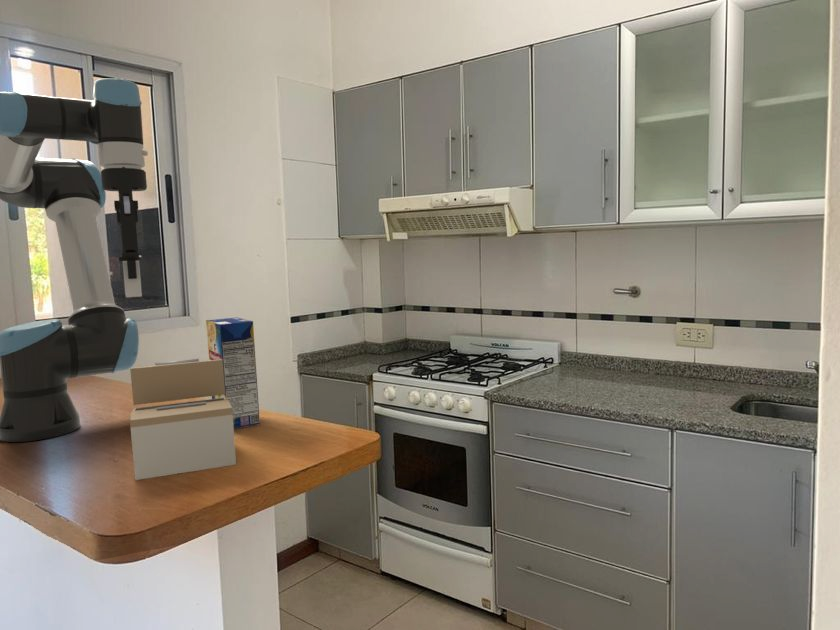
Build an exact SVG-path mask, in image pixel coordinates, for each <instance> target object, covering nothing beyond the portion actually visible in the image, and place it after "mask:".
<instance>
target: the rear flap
mask: <svg viewBox="0 0 840 630" xmlns="http://www.w3.org/2000/svg"><path fill="white" fill-rule="evenodd" d="M129 370H130V380H131V392H132V402H133V406H137V405H138V406H139V405H145V404H153V403H163V402H171V401H180V400H188V399H189V400H190V399H197V398H205V397H208V398H209V397H212V396H216V395H225V385H224V371H223V360H222V359H219V360H209V359H207V360H200V359H199V358H192V359H182V360H172V361H160V362H155V363H154V365H150V366H149V365H148V366H139V367H131V368H130V369H129Z"/></svg>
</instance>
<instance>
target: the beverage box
mask: <svg viewBox="0 0 840 630" xmlns="http://www.w3.org/2000/svg"><path fill="white" fill-rule="evenodd" d="M205 322H206V323H205V325H206V326H205V327H206V337H207V339H206V340H207V350H208V351H207V353H208V360H219V359H222V360H223V371H224V385H225V395H216V396H211V399H218V398H225V399H226V400H229V402H230V405H231V407H232V415H233V428H234V430H236V429H242V427H243V428H248V427H253V426H252V425H254V426H258V425H257V424H259V425H261V422H260V421H261V420H260V408H259V405H260V404H259V392H258V390H259V389H258V380H257V379H258V376H257V374H258V373H257V363H256V359H257V358H256V348H255V347H256V346H255V334H254V332H255V331H254V321H253V320H249V319H245V318H242V317H237V316H236V317H229V318H219V319H218V318H217V319H215V318H214V319H207V320H205ZM247 426H248V427H247Z"/></svg>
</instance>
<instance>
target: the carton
mask: <svg viewBox="0 0 840 630" xmlns="http://www.w3.org/2000/svg"><path fill="white" fill-rule="evenodd" d="M129 425H130V435H131V436H130V437H131V449H132V458H133V470H134V472H133V473H134V480H135V481H139V480H145V479H153V478H159V477H165V476H166V477H167V476H171V475H177V474H178V473H179V474H184V473H190V472H196V471H203V470H209V469H210V470H211V469H216V468H224V467H230V466H235V465H236V466H237V459H236V458H237V457H236V447H235V446H236V444H235V431H234V430H235V429H234V428H233V415H232V407H231V405H230V402H229V400H226V399H225V398H218V399H212V398H210V399H203V400H202V399H201V400H193V401H186V402H177V403H169V404H168V403H167V404H160V405H152V406H144V407H136V408H133V410H131V413H130V417H129ZM179 474H178V475H179Z"/></svg>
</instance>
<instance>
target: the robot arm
mask: <svg viewBox="0 0 840 630" xmlns="http://www.w3.org/2000/svg"><path fill="white" fill-rule="evenodd" d="M92 97H93V100H90V99H80V98H79V99H78V98H69V97H60V96H58V97H57V96H48V95H39V94H29V93H22V92H18V91H11V92H9V91H8V92H7V91H0V201H2V202H4V203H6V204H9V205H12V206H15V207H18V208H26V209H44V210H45V215H46V217H47V219H49V220H51V221H52V222H54V223H55V227H56V231H57V232H56V233H57V237H58V240H59V241H58V242H59V245H60V246H59V247H60V251H61V256H62V261H63V265H64V266H63V267H64V271H65V274H66V280H67V285H68V290H69V294H70V299H71V305H72V310H73V312H72V313H71V314H70V316H68V318H67V323H68V324H63V323H62V322H61V320H60V319H58V318H52V319H51V318H50V319H45V320H37V321H31V322H27V323H23V324H18V325H15V326H11V327H8V328H6V329H3V330H2V331H1V332H0V373H1V383H2V384H1V385H2V393H3V404H2V408H1V412H0V441H1V442H8V443H11V442H12V443H19V442H21V443H22V442H24V443H25V442H33V441H38V440H39V441H40V440H46V439H51V438H55V437H59V436H62V435H66V434H69V433H72V432H74V431H76V430H78V429H79V428H80V427H81V420H80V414H79V412H78V410H77V408H76V406H75V405H74V402H73V400H72V398H71V395H70V394H69V391H68V381H67V380H68V379H75V378H83V377H89V376H90V377H91V376H96V375H102V374H103V375H104V374H110V373H111V374H115V373H117V372H121V371H126V370H130V368H133V367H134V365H135V363H136V361H137V358H138V354H139V353H138V352H139V346H140V345H139V343H140V341H139V338H140V337H139V336H140V335H139V327H138V324H137V322H136V320H135V319H134V318H131V317H126V314H125V309H123V308H122V307H120V306H118V305H117V304H116V303H115V298H114V293H113V289H112V284H111V280H110V276H109V271H108V266H107V262H106V257H105V253H104V249H103V244H102V241H101V235H100V232H99V231H100V230H99V228H98V227H99V226H98V222H97V217H98V216H99V214H100V213H101V209H102V208H104V206H105V203H106V198H107V197H106V196H107V195H106V192H118V200H113V201H114V203H113V204H114V211H115V212H116V221H117V225H118V226H120V238H121V250H122V251H121V256H119V257H118V260H119V261H118V262H122V269H123V282H124V295H125V298H138V297H139V298H141V297H143V293H142V280H141V279H142V278H141V268H140V267H141V266H140V261H139V260H142V255H140V252H139V248H138V247H139V245H138V232H137V225H138V223H139V218H138V217H139V215H138V210H139V202H138V200H134V198H133V192H144V191H146V190H147V188H148V184H147V182H148V181H147V173H146V171H145V170H144V169H142V168H144V167H145V166H146V165H145V157H148V155H149V152H148V151H147V150H143V149H144V135H143V134H144V133H143V117H142V101H141V95H140V89H139V86H138V85H137V84H136V83H135V82H134V81H132V80H128V79H124V78H113V77H111V78H108V77H107V78H98V79H97V80H95V81H94V83H93V94H92ZM45 139H48V140H62V141H63V140H64V141H79V142H89V143H92V144H94V145H97V148H98V149H97V151H98V160H99V166H101V167H102V168H103V169H101V170H100V169H99V167H98V166H96V164H95V163H93V162H91V161H90V160H83V159H77V158H70V159H67V158H45V157H38V155H39V152H40V150H41V148H42V146H43V144H44V141H45Z"/></svg>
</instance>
